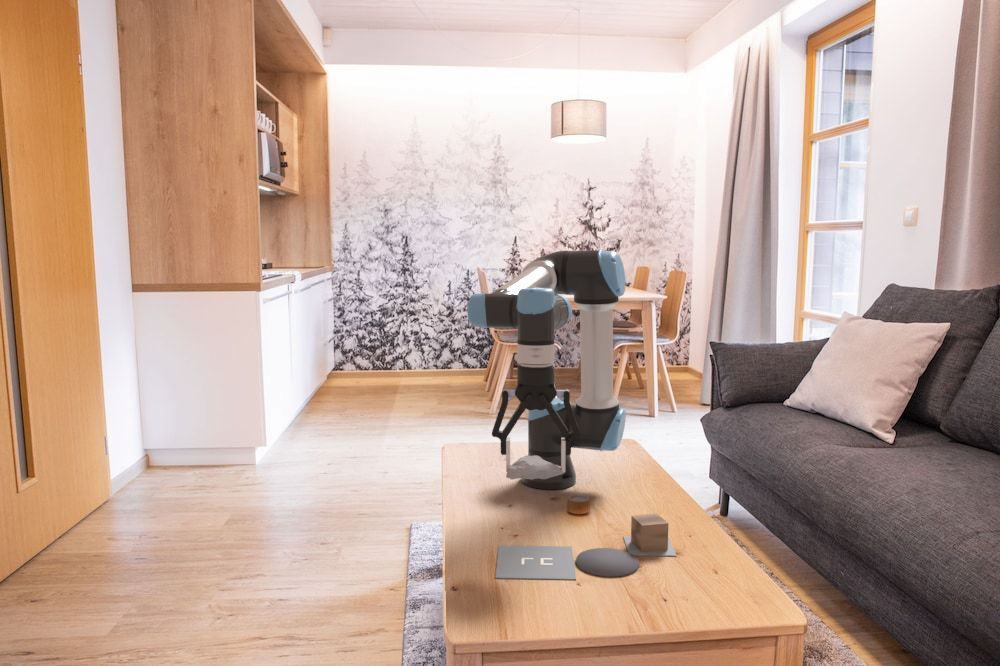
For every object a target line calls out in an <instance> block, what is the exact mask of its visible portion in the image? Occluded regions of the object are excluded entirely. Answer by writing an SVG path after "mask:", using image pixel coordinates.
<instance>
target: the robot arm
mask: <svg viewBox="0 0 1000 666" xmlns="http://www.w3.org/2000/svg"><path fill="white" fill-rule="evenodd" d="M625 292H626V274H625V268H624V264H623V260H622V258H621V256H620V254H618V252H616V251H614V250H613V251H612V250H602V249H599V250H597V249H595V250H558V251H553V252H549V253H548V254H544V255H542V256H540V257H538V258H536V259H533V260H532V261H530V262H529V263H527V264H526V265H525V266H524V267H523V270H522V271H521V273H519V274H518V275H516V276H515V277H513V278H512V279H510V280H508V282H506V283H504V284H503V285H501V286H500V287H498V288H497V289H495V290H494V291H493V292H491V293H486V292H482V293H474V294H472V295H471V296H470V298H469V300H468V303H467V319H468V321H469V323H470V324H471V325H472V326H473V327H476V328H484V329H516V330H517V331H516V333H517V340H516V341H517V342H516V343H517V346H516V348H517V350H516V351H517V352H516V353H517V354H516V355H517V363H518V366H517V369H516V373H517V375H516V377H517V386H516V388H515V389H508V388H503V389H502V392H501V395H502V396H501V401H502V402H501V404H500V405H499V406H500V407H499V409H498V413H497V416H496V418H495V422H494V423H493V424H494V425H493V428H492V432H491V436H492V437H494V438H497V439H499V440H500V454H501V455H502V456H505V458H506V461H505V465H506V467H505V470H506V473H507V471H508V467H510V466H511V436H509V434H511V432H512V430H513V429H514V427H515V425H516V424H517V422H518V421H519V419H520V418H521V416H522V414H524V412H525V410H528V418H527V426H528V428H527V429H528V430H527V431H528V434H527V437H528V440H527V443H528V448H527V449H528V451H527V452H528V455H527V456H534V455H537V456H539V457H541V458H542V459H543V460H546V461H548V462H550V463H552V464H554V465H558V466H561V469H562V472H564V473H563V474H561V475H558V476H554V477H551V478H547V479H540V478H537V479H533V480H531V479H522V478H521V481H522V483H523V484H524V485H526V486H528V487H531V488H533V489H538V490H539V489H541V490H561V489H566V488H570V487H573V486H574V485H576V483H577V482H576V481H577V474H576V470H575V467H574V463H573V460H572V457H571V454H572V448H573V449H583V450H584V449H585V450H593V451H599V452H603V451H605V452H613V451H615V450H616V451H617V449H618V448H619V447H620V444H621V442H622V439H623V437H624V436H623V435H624V431H625V426H626V418H627V416H626V415H627V414H626V410H625V408H622V407H620V400H619V399H618V398H617V397H616V396H615V395H614V334H613V333H614V330H613V329H614V325H613V324H614V323H613V322H614V319H613V318H614V316H613V315H614V313H613V312H614V311H613V309H614V308H615V306H616V305H617V304H618V303H619V297H621V296H624V294H625ZM564 295H566V296H568V295H569V296H573V303H574V304H575V306H577V308H579V323H580V324H579V325H580V328H579V329H580V330H579V331H580V337H579V338H580V340H579V341H580V386H581V387H580V388H581V389H580V394H581V395H580V396H579V397H578V398H576V400H575V404H574V405H572V402H571V400H570V399H571V395H570V390H569V389H568V388H565V389H557V388H556V386H555V366H554V365H553V363H555V330H559V329H561V328H563V327H565V326H566V325H567V324H568V323H569V321H570V320H571V318H572V315H573V307H572V304H571V302H570V301H569V299H568V298H567V297H565V296H564ZM513 397H516V398H517V399H518V401H519V404H518V406H517V408H516V409H515V411H514V412H513V413H512V415H511V417H510V419H509V420H508V421H507V424H506V425H505V426H504V428H503V429H502V430H500V428H501V426H502V423H503V420H504V417H505V414H506V411H507V409H508V405H509V401H512V400H513Z"/></svg>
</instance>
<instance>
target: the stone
mask: <svg viewBox="0 0 1000 666" xmlns="http://www.w3.org/2000/svg"><path fill="white" fill-rule="evenodd" d="M563 473H564V472H562V469H561V466H558V465H554V464H552V463H550V462H548V461H546V460H543V459H542V458H541V457H539V456H537V455H534V456H528V455H525V456H522V457H519V458H518V459H517V460H516V461H515V462H514V463H512V464H510V467H508V471H507V472H506V476H505V477H506V478H507V479H510V480H517V479H521V480H522V479H531V480H533V479H537V478H540V479H547V478H551V477H554V476H558V475H561V474H563Z"/></svg>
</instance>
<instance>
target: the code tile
mask: <svg viewBox="0 0 1000 666" xmlns="http://www.w3.org/2000/svg"><path fill="white" fill-rule="evenodd" d="M573 553H574V552H573V546H570V545H569V546H568V545H566V546H565V545H564V546H563V545H562V546H561V545H559V546H558V545H500V544H499V545H498V551H497V560H496V566H495V567H496V568H495V578H494V579H497V580H499V579H502V580H503V579H505V580H507V579H508V580H551V581H552V580H554V581H555V580H557V581H558V580H559V581H561V580H562V581H563V580H565V581H568V580H569V581H577V576H576V569H575V568H576V567H575V562H574V561H575V559H574V554H573Z"/></svg>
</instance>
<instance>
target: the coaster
mask: <svg viewBox="0 0 1000 666" xmlns="http://www.w3.org/2000/svg"><path fill="white" fill-rule="evenodd" d="M575 563H576V565H577V568H579V569H580V570H581V571H583V572H585V573H586V574H589V575H594V576H598V577H604V578H618V577H619V578H621V577H626V576H630V575H632V574H634V573H637V571H638V570H639V568H640V560H639V559H638V556H634V555H633V554H631V553H629V552H628V551H626V550H623V549H618V548H612V547H611V548H609V547H595V548H590V549H586V550H583V551H581V552H580V553H579V554H577V556H576V559H575Z"/></svg>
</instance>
